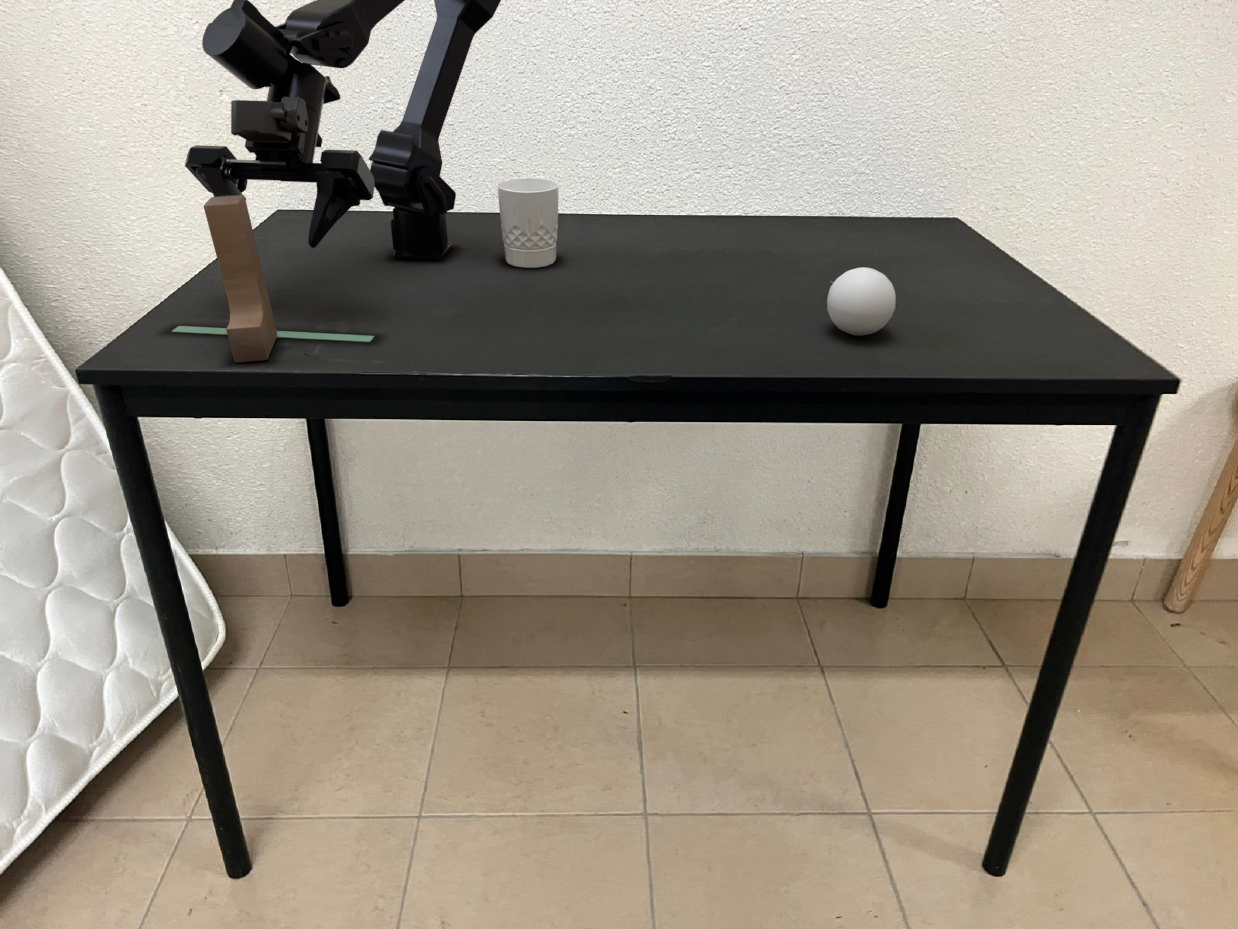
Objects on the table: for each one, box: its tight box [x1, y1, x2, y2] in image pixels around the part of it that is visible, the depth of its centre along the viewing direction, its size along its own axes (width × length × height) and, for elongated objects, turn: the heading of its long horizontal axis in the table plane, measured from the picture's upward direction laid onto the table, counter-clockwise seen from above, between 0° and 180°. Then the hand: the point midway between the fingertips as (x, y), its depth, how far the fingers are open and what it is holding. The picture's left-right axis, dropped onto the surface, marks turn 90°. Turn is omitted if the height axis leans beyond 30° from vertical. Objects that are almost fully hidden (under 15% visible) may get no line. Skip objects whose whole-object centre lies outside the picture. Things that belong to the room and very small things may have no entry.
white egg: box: [825, 266, 897, 337], centre depth 99 cm, size 10×7×7 cm
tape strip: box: [170, 325, 375, 343], centre depth 96 cm, size 22×2×1 cm, turn 85°
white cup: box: [496, 177, 560, 269], centre depth 117 cm, size 8×8×10 cm
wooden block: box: [203, 194, 278, 363], centre depth 89 cm, size 7×3×15 cm, turn 10°
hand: (269, 244), depth 94 cm, fingers open, 9 cm apart
